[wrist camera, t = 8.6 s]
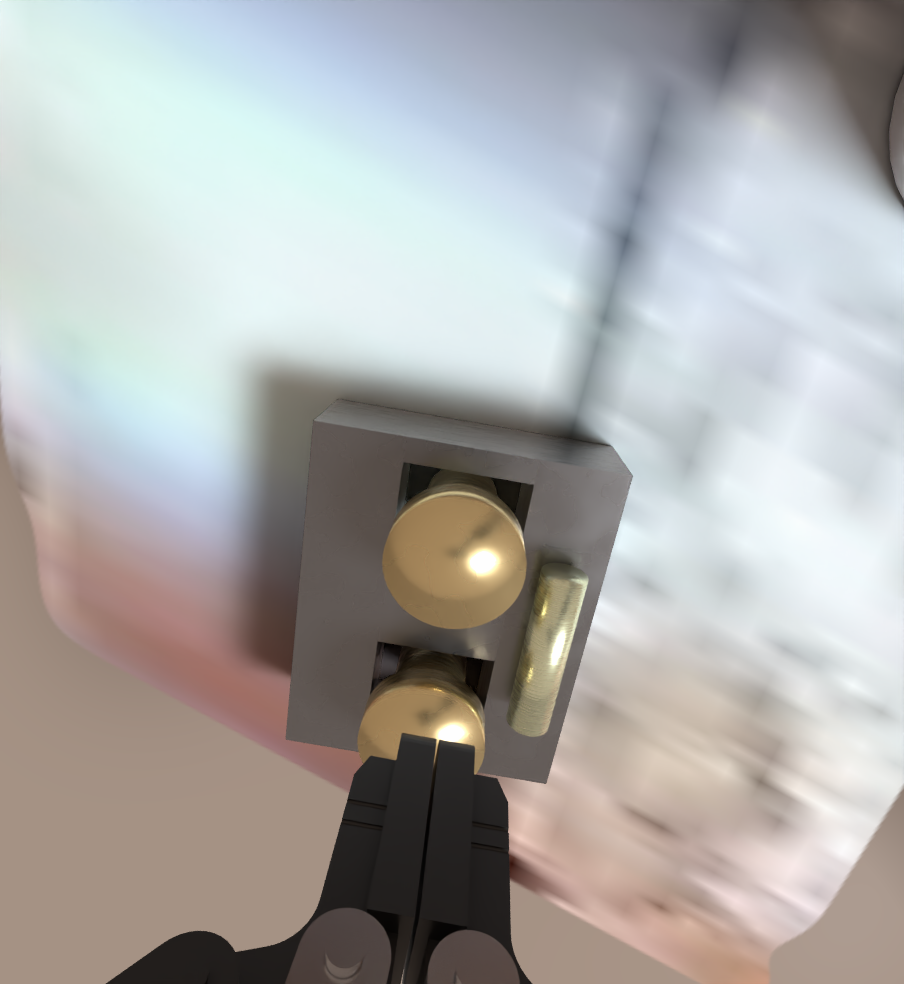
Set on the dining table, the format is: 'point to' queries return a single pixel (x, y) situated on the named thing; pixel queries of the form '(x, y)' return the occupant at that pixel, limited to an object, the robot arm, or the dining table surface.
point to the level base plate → (379, 618)
